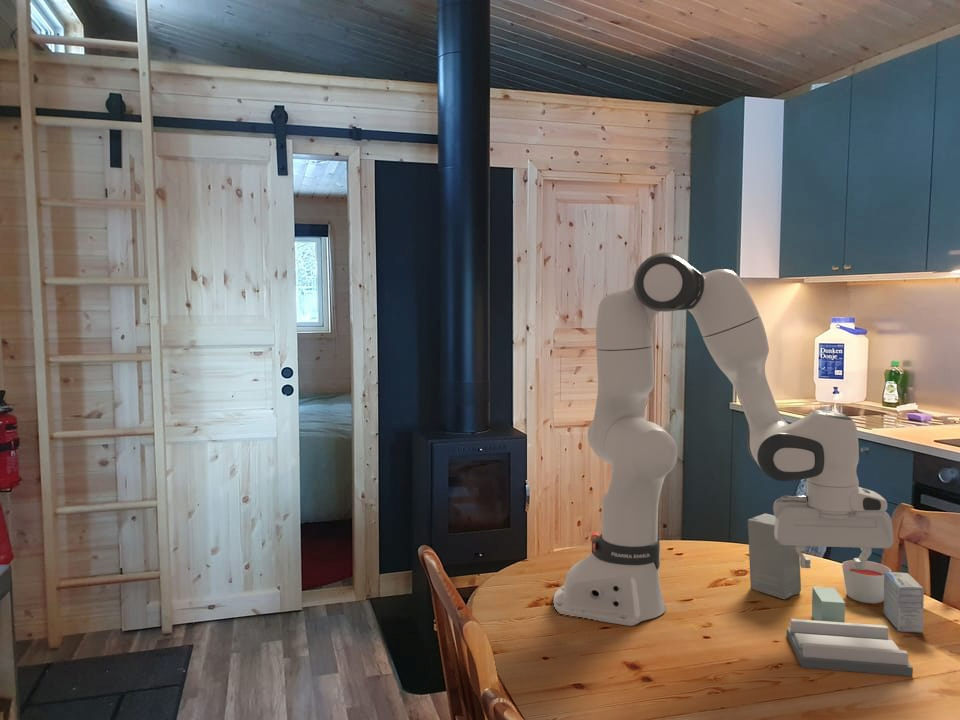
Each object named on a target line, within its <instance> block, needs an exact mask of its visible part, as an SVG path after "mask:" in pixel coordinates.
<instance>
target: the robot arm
mask: <svg viewBox="0 0 960 720" xmlns="http://www.w3.org/2000/svg"><path fill="white" fill-rule="evenodd" d="M686 310H687V311H688V312H689V313H691V315H692V317H693V318H694V320H695V321H696V324H697V327H698V329H699V332H700V335H701V337H702V339H703V342H704V344H705V346H706V349H707V350H708V352H709V354H710V356H711V358H712V359H713V361H714V362H715V364H716V365H717V367H718V368H719V369H720V370H721V372H722V373H723V374H724V375H725V376H726V377H727V379H728V380H729V382H730V383H731V384H732V386H733V388H734V390H735V393H736V395H737V398H738V400H739V401H738V402H739V403H740V406H741V409H742V411H743V414H744V416H745V418H746V419H745V420H746V422H747V436H746V446H747V450H748V454H749V455H750V456H751V458H752V460H753V461H755V462H756V464H757V465H758V466H759V468H760V469H761V471H762V472H763V474H765V475H766V476H767V477H769V478H770V479H773V480H775V481H779V482H791V481H800V480H806V481H805V483H806V492H805V493H806V495H793V496H791V495H782V496H781V497H779V498H777V499H775V501H774V502H773V506H772V510H773V515H774V516H775V517H776V519H775V527H774V536H775V539H776V540H777V541H778V542H779V543H780V544H781V545H792V546H794V548H795V550H796V551H797V553H798V555H799V556H800V568H801V569H811V559H810V557H809V556H804V554H803V552H804V551H805V547H831V548H832V547H833V548H834V547H835V548H837V547H838V548H859V549H860V550H861V552H860V555H858V557H857V558H856V557H853V560H854V568H855V570H865V562H866V561H868V559H869V557H870V556H871V554H872V549H889V548H890V547H892V545H893V544H894V528H893V523H892V522H893V521H892V518H891V516H890V515H889V513H888V512H887V511H886V510H888V501H887V500H886V499H885V498H884V497H883V496H882V495H881V494H879V493H877V492H876V491H874V490H871V489H868V488H863V487H861V486H859V484H860V481H859V478H858V474H857V467H858V464H859V462H860V455H859V454H860V453H859V452H860V449H859V447H860V446H859V435H858V429H857V428H858V427H857V424H856V422H855V421H854V420H853V419H852V418H851V417H849V415H846V414H845V413H840V412H837V411H832V410H827V409H814V410H811V411H810V412H809V413H808V414H806V415H805V416H803V417H802V418H800V419H798V420H797V421H794V422H791V423H790V422H788V421H787V419H785V418H784V417H783V416H782V415H781V413H780V411H779V408H778V406H777V403H776V401H775V398H774V395H773V394H772V391H771V387H770V386H769V383H768V379H767V375H766V362H767V358H768V355H769V352H770V347H769V342H768V337H767V331H766V329H765V326H764V322H763V320H762V318H761V315H760V312H759V310H758V308H757V306H756V303H755V301H754V300H753V297H752V296H751V294H750V292H749V290H748V289H747V287H746V286H745V284H744V282H743V281H742V279H741V278H740V276H739V275H738V274H737V273H736V272H735V271H733V270H730V269H726V268H725V269H724V268H722V269H721V268H720V269H719V268H718V269H713V270H710V271H707V272H702V273H701V272H700V271H699V270H697V269H696V268H695V267H694V266H692V265H691V264H689V262H688V261H687V260H686V259H684V258H683V257H682V256H681V255H678V254H676V253H672V252H660V253H659V252H658V253H655V254H653V255H651V256H648V257H647V258H646V259H644V261H643V262H642V263H641V264H640V265H639V267H638V268H637V269H636V272H635V275H634V280H633V285H632V286H631V287H630V288H628V289H625V290H619V291H618V290H617V291H614V292H611V293H609V294H607V295H606V296H604V297H603V298H602V299H601V300H600V303H599V304H598V309H597V317H596V327H595V328H596V329H595V349H596V350H595V351H596V366H597V370H596V371H597V395H596V401H595V402H596V403H595V409H594V414H593V415H594V416H593V420H592V421H591V422H590V424H589V426H588V431H587V441H588V444H589V446H590V448H591V449H592V450H593V452H594V453H595V455H596V456H597V457H598V458H599V459H600V460H602V461H603V462H605V463H607V464H609V465H611V469H612V472H611V473H612V474H611V479H610V482H609V483H610V484H609V485H608V486H609V487H608V490H607V492H606V493H605V494H604V495H603V497H602V500H601V534H600V533H599V532H597V531H593V532H592V534H591V535H590V541H591V553H590V554H588V555H587V556H586V557H584V558H582V559H581V560H580V561H577V563H575V564H574V565H572V566H571V567H570V569H568V570H569V571H568V572H567V574H566V577H565V582H564V585H562V586H561V587H559V588H558V589H557V590H556V591H555V593H554V595H553V601H552V604H553V603H554V606H553V608H554V607H555V609H556V610H557V611H558V612H559V613H562V614H568V615H573V616H578V617H583V618H582V619H584V618H588V619H587V620H590V619H594V620H593V621H597V620H598V621H597V622H603V623H609V624H617V625H622V626H628V627H632V626H635V625H638V624H639V623H641V622H644V621H648V620H652V619H655V618H657V617H659V616H661V615H663V614H664V613H665V611H666V610H667V609H666V604H665V601H664V597H663V593H662V587H661V581H660V573H659V572H660V571H659V570H660V569H659V568H660V565H661V544H660V539H659V537H658V527H659V524H658V523H659V516H658V515H659V503H660V502H659V501H660V496H661V491H662V487H663V484H664V482H665V478H666V476H667V475H668V474H669V473H670V472H671V471H672V470H673V469H674V467H675V465H676V463H677V459H678V454H679V453H678V445H677V443H676V441H675V438H673V437H672V435H671V434H669V432H668V431H666V430H665V429H664V428H663V427H662V426H661V425H659V424H657V423H655V422H652V421H648V420H646V409H647V403H648V398H649V395H650V393H651V392H652V391H653V390H654V388H655V384H656V383H655V382H656V380H655V379H656V376H655V360H654V359H655V358H654V357H655V355H654V339H653V324H654V320H655V317H656V316H657V315H658V313H659V312H664V313H665V312H674V311H675V312H676V311H686ZM555 609H554V610H555ZM559 613H558V614H559ZM578 617H577V618H578Z"/></svg>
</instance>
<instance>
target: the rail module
mask: <svg viewBox="0 0 960 720" xmlns="http://www.w3.org/2000/svg"><path fill="white" fill-rule="evenodd" d="M811 591H812V593H811V594H812V595H811V596H812V597H811V598H812V599H811V618H812V620H815V621H829V622H843V623H846V622H845V619H846V618H845V615H846V614H845V612H846V602H845V600H844V599H843V598H842V596H841V595H840V593H839V592H838V591H837V589H836V588H835V587H820V586H812V590H811Z"/></svg>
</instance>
